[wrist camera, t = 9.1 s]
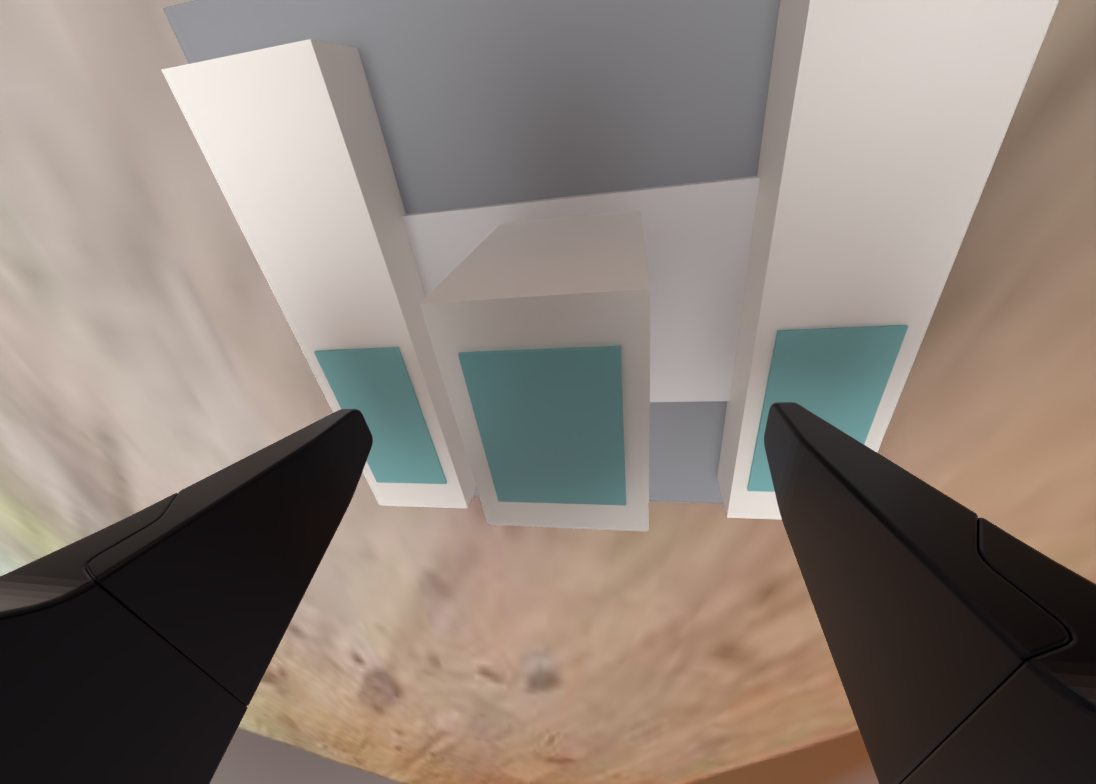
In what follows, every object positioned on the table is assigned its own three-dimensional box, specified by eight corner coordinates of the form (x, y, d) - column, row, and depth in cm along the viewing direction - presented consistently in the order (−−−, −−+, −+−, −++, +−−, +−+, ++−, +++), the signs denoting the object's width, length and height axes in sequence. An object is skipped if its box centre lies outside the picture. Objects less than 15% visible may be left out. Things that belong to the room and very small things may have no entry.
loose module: (639, 209, 12) (651, 290, 7) (641, 390, 15) (649, 535, 10) (500, 223, 12) (417, 306, 7) (530, 392, 16) (486, 528, 11)
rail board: (1074, -190, 8) (1285, -326, 5) (835, 488, 18) (870, 552, 15) (194, 14, 12) (76, -9, 9) (399, 478, 22) (369, 529, 19)
